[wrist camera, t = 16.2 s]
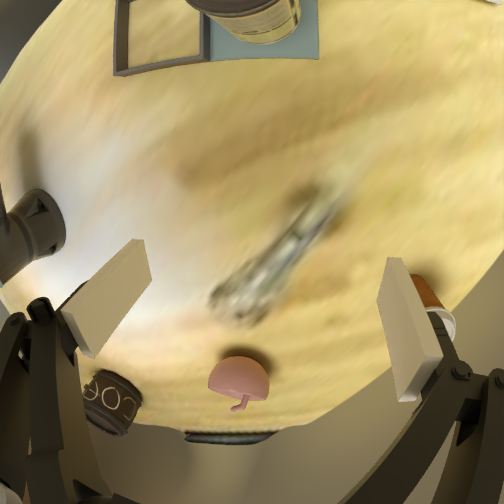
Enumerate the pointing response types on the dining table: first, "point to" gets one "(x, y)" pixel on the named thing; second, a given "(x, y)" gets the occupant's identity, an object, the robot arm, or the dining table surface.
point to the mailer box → (222, 42)
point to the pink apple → (240, 380)
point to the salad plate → (495, 1)
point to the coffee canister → (111, 403)
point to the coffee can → (253, 18)
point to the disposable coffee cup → (434, 304)
